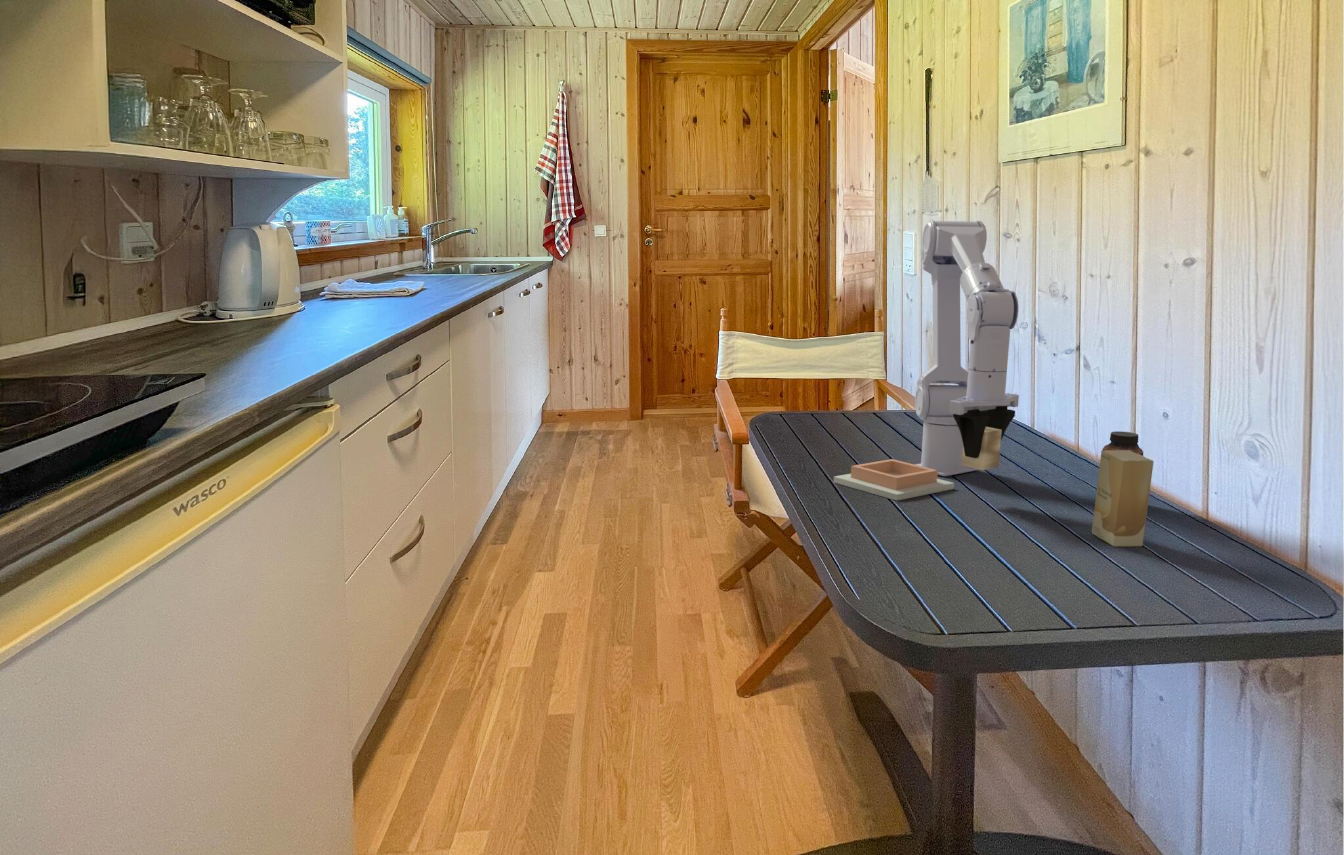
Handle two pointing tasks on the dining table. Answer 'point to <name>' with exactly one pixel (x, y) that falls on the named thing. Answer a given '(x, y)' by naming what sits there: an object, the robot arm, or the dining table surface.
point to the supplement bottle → (1124, 442)
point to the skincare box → (1122, 497)
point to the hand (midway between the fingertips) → (980, 455)
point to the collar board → (894, 479)
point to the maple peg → (986, 451)
